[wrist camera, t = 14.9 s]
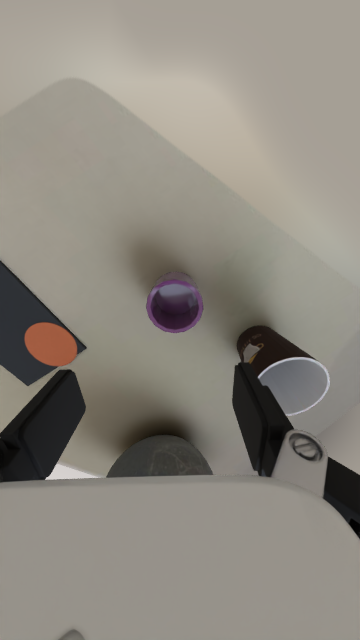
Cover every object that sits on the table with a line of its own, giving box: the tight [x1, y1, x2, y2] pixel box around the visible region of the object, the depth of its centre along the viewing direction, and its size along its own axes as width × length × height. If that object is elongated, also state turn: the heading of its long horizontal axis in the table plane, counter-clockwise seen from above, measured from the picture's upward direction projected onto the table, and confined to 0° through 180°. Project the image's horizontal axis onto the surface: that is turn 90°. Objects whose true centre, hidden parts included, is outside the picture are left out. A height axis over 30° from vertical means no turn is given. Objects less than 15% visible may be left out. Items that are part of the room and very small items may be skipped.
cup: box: [146, 272, 203, 333], centre depth 25 cm, size 7×7×6 cm
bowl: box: [106, 435, 213, 478], centre depth 34 cm, size 20×20×15 cm
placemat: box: [0, 261, 86, 386], centre depth 29 cm, size 18×14×1 cm
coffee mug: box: [237, 326, 330, 416], centre depth 26 cm, size 12×9×10 cm
